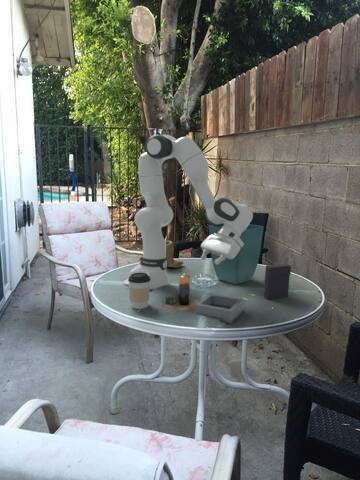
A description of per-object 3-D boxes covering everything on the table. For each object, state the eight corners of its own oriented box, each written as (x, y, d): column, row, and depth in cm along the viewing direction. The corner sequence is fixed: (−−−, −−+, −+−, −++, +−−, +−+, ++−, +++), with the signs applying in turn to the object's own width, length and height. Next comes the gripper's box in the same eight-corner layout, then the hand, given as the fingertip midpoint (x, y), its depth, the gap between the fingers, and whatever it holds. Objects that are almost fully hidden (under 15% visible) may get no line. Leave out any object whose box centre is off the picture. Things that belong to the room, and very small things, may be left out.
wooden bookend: (151, 267, 233) (151, 242, 230) (159, 263, 243) (159, 238, 241) (176, 270, 227) (176, 244, 224) (183, 265, 238) (184, 240, 235)
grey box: (283, 294, 189) (285, 263, 186) (289, 297, 185) (291, 265, 182) (262, 297, 185) (264, 265, 182) (268, 300, 181) (270, 267, 178)
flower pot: (206, 279, 212) (208, 225, 207) (232, 272, 226) (234, 221, 220) (235, 288, 198) (238, 230, 192) (261, 280, 211) (264, 226, 205)
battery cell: (177, 304, 171) (177, 274, 168) (181, 301, 174) (182, 272, 172) (186, 306, 169) (187, 276, 166) (191, 302, 172) (191, 273, 170)
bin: (195, 316, 161) (195, 304, 160) (209, 304, 175) (210, 293, 174) (231, 323, 155) (231, 311, 154) (243, 311, 168) (244, 299, 167)
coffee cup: (124, 308, 169) (123, 273, 166) (141, 303, 175) (140, 269, 172) (137, 314, 162) (137, 278, 160) (155, 309, 169) (155, 274, 166)
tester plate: (161, 309, 169) (161, 298, 168) (176, 299, 181) (176, 289, 180) (192, 315, 163) (192, 304, 162) (206, 304, 175) (206, 294, 174)
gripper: (209, 228, 185) (190, 252, 182) (239, 235, 168) (219, 261, 165) (216, 237, 189) (198, 260, 185) (246, 245, 172) (227, 271, 168)
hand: (208, 261), depth 175 cm, fingers open, 8 cm apart
